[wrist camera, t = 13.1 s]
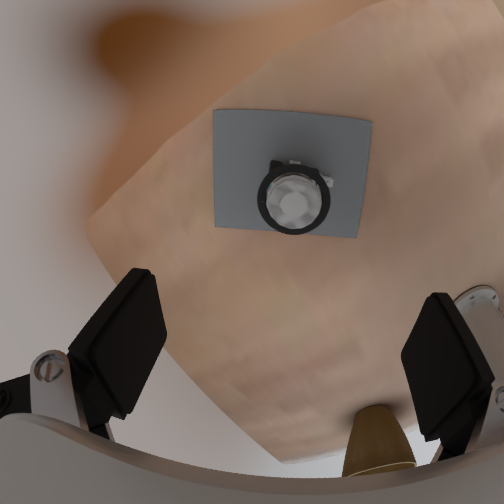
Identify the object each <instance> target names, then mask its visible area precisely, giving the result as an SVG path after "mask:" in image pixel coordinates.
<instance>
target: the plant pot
mask: <svg viewBox="0 0 504 504" xmlns="http://www.w3.org/2000/svg"><path fill="white" fill-rule="evenodd" d="M416 466H417V464H416V460H415V457H414V455H413V452H412V449H411V447H410V444H409V442H408V440H407V438H406V435H405V433H404V432H403V430H402V428H401V426H400V424H399V423H398V421H397V420H396V418H395V417H394V415H393V414H392V412H391V411H390V410H389V408H388V407H387V406H384V405H374V406H370V407H367V408H365V409H363V410H361V411H360V412H358V414H357V415H356V418H355V421H354V424H353V427H352V431H351V434H350V438H349V442H348V446H347V450H346V455H345V460H344V466H343V472H342V477H352V476H363V475H372V474H379V473H386V472H392V471H398V470H404V469H409V468H413V467H416Z"/></svg>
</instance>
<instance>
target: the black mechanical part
mask: <svg viewBox="0 0 504 504" xmlns="http://www.w3.org/2000/svg"><path fill="white" fill-rule="evenodd" d="M327 181H329V182H327ZM333 181H334V180H333V179H332V177H326V176H322V174H319V170H318V169H316V168H310V167H308V166H305V165H301V162H299V161H293V160H290V164H286V165H283V163H282V162H281V161H276V160H271V162H270V166H269V173H268V174H267V175H266V176H265V178H264V179H263V181H262V182H261V184H260V187H259V189H258V193H257V205H258V209H259V212H260V214H261V216H262V218H263V219H264V221H265V222H266V223H267V224H268V225H269V226H270V227H272V228H273V229H275V230H277V231H279V232H281V233H285V234H290V235H299V234H304V233H307V232H310V231H312V230H314V229H315V228H317V227H318V226H319V225H320V224H321V223H322V222H323V221H324V219H325V218H326V216H327V214H328V212H329V209H330V204H331V196H330V191H329V188H328V187H333ZM269 186H271V188H270V190H269V191H268V194H267V189H268V187H269ZM317 186H319V188H320V192H321V194H320V192H319V190H318V188H317Z"/></svg>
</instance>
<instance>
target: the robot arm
mask: <svg viewBox="0 0 504 504" xmlns="http://www.w3.org/2000/svg"><path fill="white" fill-rule="evenodd" d="M498 309H499V297H498V294H497V293H496V292H495V290H494V289H493V288H491V287H489V286H479V287H476V288H473V289H471V290H469V291H467V292H465V293H464V294H463V295H461V296H460V297H459V298H458V299H457V300H456V301H455V302H453V300H452V299H451V297H450V296H449V295H448V293H438V292H434V293H432V294H431V295H430V296H429V297H427V298H426V300H425V303H424V305H423V307H422V310H421V312H420V314H419V316H418V319H417V321H416V323H415V325H414V327H413V329H412V331H411V333H410V335H409V338H408V340H407V342H406V343H405V345H404V347H403V349H402V352H401V360H402V363H403V367H404V370H405V373H406V377H407V380H408V384H409V388H410V391H411V395H412V399H413V403H414V407H415V411H416V415H417V419H418V424H419V428H420V432H421V434H422V435H424V437H425V442H428V441H433V440H437V439H439V438H440V441H441V444H440V446H439V448H438V450H437V452H436V453H435V456H434V457H433V459H432V461H431V463H430V464H427V465H423V466H418V467H413V468H409V469H404V470H398V471H392V472H386V473H379V474H372V475H363V476H352V477H339V478H280V477H265V476H254V475H245V474H238V473H231V472H224V471H218V470H213V469H207V468H202V467H197V466H193V465H189V464H184V463H180V462H176V461H172V460H169V459H165V458H161V457H158V456H155V455H151V454H148V453H145V452H142V451H139V450H136V449H133V448H130V447H127V446H124V445H121V444H119V443H116V442H115V440H114V437H113V434H112V432H111V429H110V426H109V420H110V418H111V416H114V417H116V418H119V419H122V420H124V419H125V417H126V415H127V414H130V413H131V412H132V411H133V409H134V407H135V405H136V403H137V400H138V398H139V396H140V394H141V392H142V389H143V387H144V385H145V383H146V381H147V379H148V376H149V375H150V372H151V370H152V368H153V366H154V364H155V362H156V360H157V358H158V356H159V354H160V351H161V349H162V347H163V345H164V343H165V341H166V338H167V331H166V326H165V322H164V318H163V313H162V309H161V304H160V299H159V294H158V289H157V284H156V279H155V276H154V275H153V274H151V272H150V271H149V270H148V269H140V268H132V269H131V270H130V271H129V273H128V274H127V275H126V276H125V277H124V278H123V279H122V281H121V282H120V283H119V284H118V285H117V287H116V288H115V289H114V290H113V291H112V292H111V294H110V295H109V296H108V297H107V299H106V300H105V301H104V302H103V303H102V305H101V306H100V307H99V308H98V310H97V311H96V312H95V313H94V315H93V316H92V317H91V318H90V320H89V321H88V322H87V324H86V325H85V326H84V327H83V329H82V330H81V331H80V333H79V334H78V335H77V337H76V338H75V339H74V341H73V342H72V343H71V345H70V346H69V347H68V350H69V353H68V354H67V355H65V353H63V352H61V351H59V350H49V351H46V352H44V353H42V354H40V355H39V356H38V357H37V358H36V359H35V360H34V361H33V363H32V365H31V369H30V374H27V375H24V376H21V377H18V378H15V379H12V380H8V381H5V382H2V383H0V504H504V316H503V315H502V314H501V313H500V311H499V310H498Z"/></svg>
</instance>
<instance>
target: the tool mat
mask: <svg viewBox="0 0 504 504" xmlns="http://www.w3.org/2000/svg"><path fill="white" fill-rule="evenodd" d="M371 132H372V122H371V121H366V120H360V119H353V118H347V117H339V116H332V115H323V114H314V113H303V112H290V111H273V110H213V163H214V211H215V227H223V228H238V229H252V230H266V231H277V230H275V229H273V228H272V227H270V226H269V225H268V224H267V223H266V222H265V221H264V219H263V218H262V216H261V214H260V212H259V209H258V205H257V193H258V189H259V187H260V184H261V182H262V181H263V179H264V178H265V176H266V175H267V174H268V173H269V166H270V162H271V160H276V161H281V162H282V163H283V165H286V164H290V160H293V161H299V162H301V165H305V166H308V167H310V168H316V169H318V170H319V174H322V176H326V177H332V179H333V180H334V181H333V187H328V188H329V191H330V196H331V204H330V209H329V212H328V214H327V216H326V218H325V219H324V221H323V222H322V223H321V224H320V225H319V226H318V227H317V228H315V229H314V230H312V231H310V232H307V233H304V234H316V235H327V236H339V237H349V238H356V237H357V232H358V227H359V221H360V216H361V210H362V204H363V197H364V191H365V184H366V177H367V169H368V161H369V152H370V143H371ZM327 182H329V181H327ZM270 188H271V186H269V187H268V189H267V194H268V191H269V190H270ZM317 188H318V190H319V192H320V188H319V186H317ZM320 194H321V192H320Z"/></svg>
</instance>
